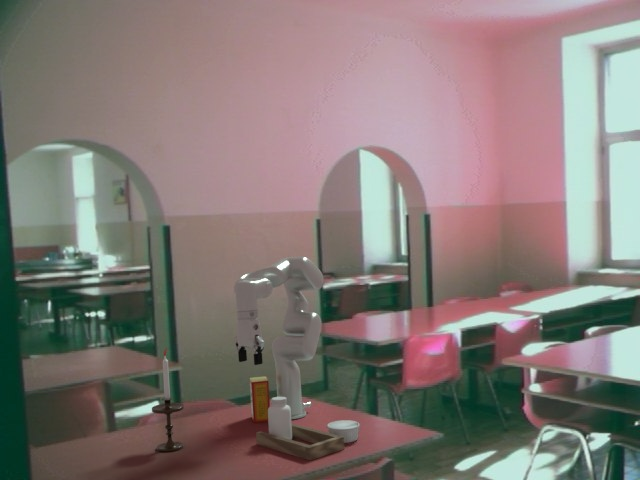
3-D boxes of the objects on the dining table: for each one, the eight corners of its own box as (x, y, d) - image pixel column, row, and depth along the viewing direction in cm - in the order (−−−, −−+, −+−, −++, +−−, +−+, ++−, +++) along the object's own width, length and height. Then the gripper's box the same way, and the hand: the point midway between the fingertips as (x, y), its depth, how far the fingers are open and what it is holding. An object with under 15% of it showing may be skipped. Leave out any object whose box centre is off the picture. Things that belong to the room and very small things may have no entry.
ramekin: (357, 444, 238) (356, 428, 238) (325, 444, 240) (324, 428, 240) (362, 435, 249) (361, 420, 249) (331, 434, 251) (330, 420, 251)
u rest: (290, 434, 255) (289, 423, 255) (344, 448, 234) (343, 436, 234) (256, 444, 245) (256, 432, 245) (310, 460, 224) (309, 447, 224)
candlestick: (191, 443, 250) (185, 344, 250) (177, 453, 239) (171, 349, 239) (163, 443, 253) (157, 344, 252) (148, 452, 242) (142, 350, 242)
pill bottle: (293, 437, 250) (291, 395, 250) (290, 444, 242) (288, 400, 242) (271, 438, 251) (269, 395, 251) (267, 445, 243) (265, 401, 243)
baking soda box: (251, 417, 283) (249, 376, 282) (268, 415, 284) (265, 375, 284) (253, 423, 273) (251, 381, 273) (270, 421, 274) (268, 379, 274)
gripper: (270, 315, 250) (273, 363, 250) (242, 312, 263) (245, 358, 263) (252, 318, 245) (255, 367, 245) (225, 315, 258) (228, 362, 259)
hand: (250, 362), depth 254 cm, fingers open, 9 cm apart
